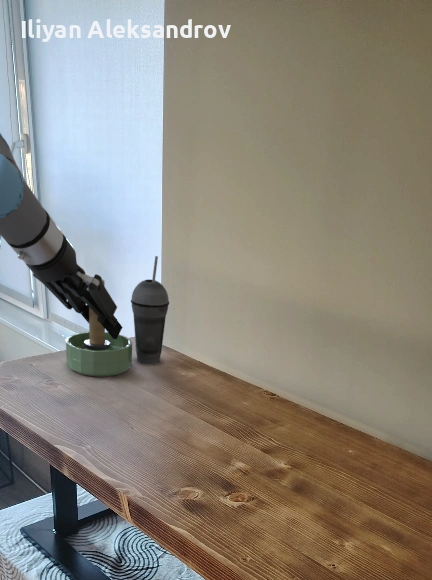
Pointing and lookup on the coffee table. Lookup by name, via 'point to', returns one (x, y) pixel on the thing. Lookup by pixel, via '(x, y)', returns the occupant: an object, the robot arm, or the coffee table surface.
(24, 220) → the robot arm
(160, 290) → the beverage cup
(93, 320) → the dowel on round base
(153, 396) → the coffee table surface
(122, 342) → the bowl
